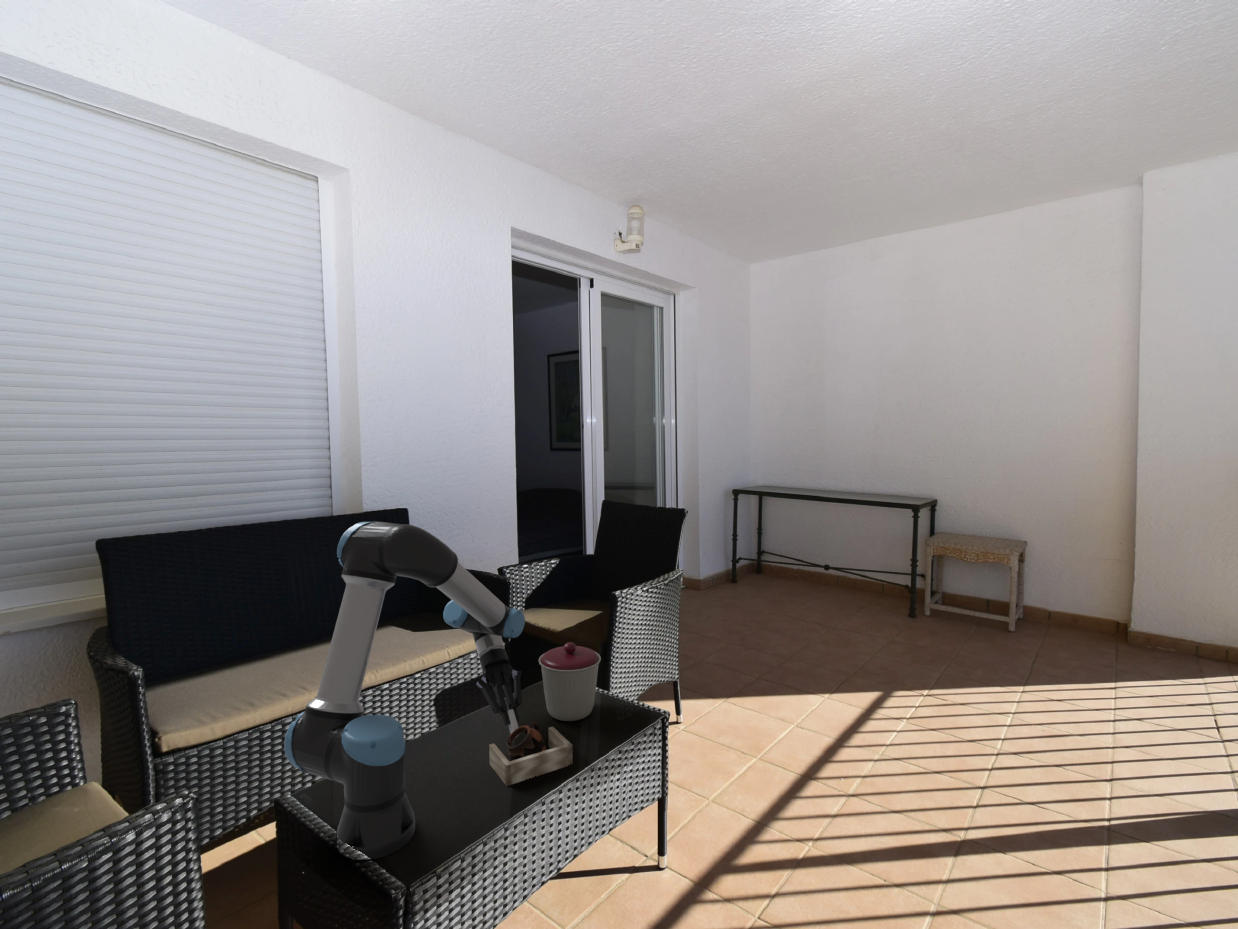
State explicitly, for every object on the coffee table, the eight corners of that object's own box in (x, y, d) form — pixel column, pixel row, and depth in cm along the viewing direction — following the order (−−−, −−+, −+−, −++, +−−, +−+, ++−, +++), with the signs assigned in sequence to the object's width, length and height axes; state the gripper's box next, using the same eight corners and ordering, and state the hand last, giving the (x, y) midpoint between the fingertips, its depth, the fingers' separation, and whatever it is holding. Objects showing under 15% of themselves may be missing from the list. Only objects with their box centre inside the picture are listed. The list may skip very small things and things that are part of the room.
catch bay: (506, 786, 145) (506, 765, 144) (489, 764, 154) (489, 744, 154) (572, 764, 154) (572, 745, 154) (552, 744, 163) (552, 726, 163)
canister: (564, 735, 169) (563, 659, 167) (526, 712, 182) (526, 642, 181) (613, 714, 181) (613, 643, 179) (575, 694, 194) (574, 628, 193)
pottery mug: (546, 767, 154) (529, 744, 151) (515, 779, 156) (497, 756, 154) (555, 730, 165) (539, 708, 163) (525, 742, 167) (509, 720, 165)
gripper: (510, 655, 181) (534, 734, 168) (466, 664, 174) (488, 748, 161) (517, 643, 176) (543, 723, 163) (472, 652, 169) (496, 737, 156)
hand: (516, 735), depth 162 cm, fingers closed
